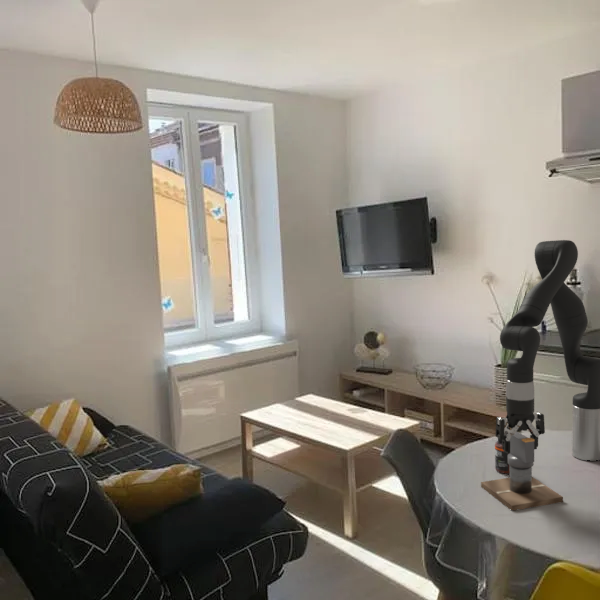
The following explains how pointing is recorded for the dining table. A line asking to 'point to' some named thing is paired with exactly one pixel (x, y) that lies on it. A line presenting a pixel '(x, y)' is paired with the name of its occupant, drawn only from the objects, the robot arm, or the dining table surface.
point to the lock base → (521, 498)
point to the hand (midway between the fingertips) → (520, 450)
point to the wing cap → (521, 451)
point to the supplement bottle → (501, 458)
